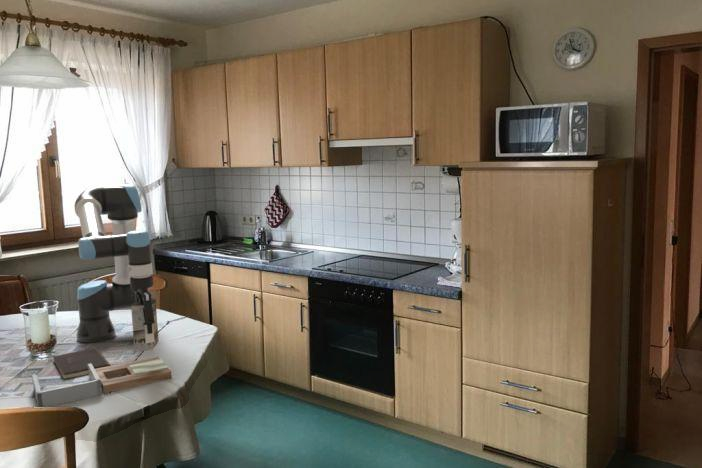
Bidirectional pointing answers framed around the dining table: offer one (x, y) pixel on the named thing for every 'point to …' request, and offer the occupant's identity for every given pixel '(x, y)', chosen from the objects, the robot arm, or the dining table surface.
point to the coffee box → (140, 329)
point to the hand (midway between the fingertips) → (146, 338)
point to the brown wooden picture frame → (133, 374)
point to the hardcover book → (79, 362)
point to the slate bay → (68, 390)
